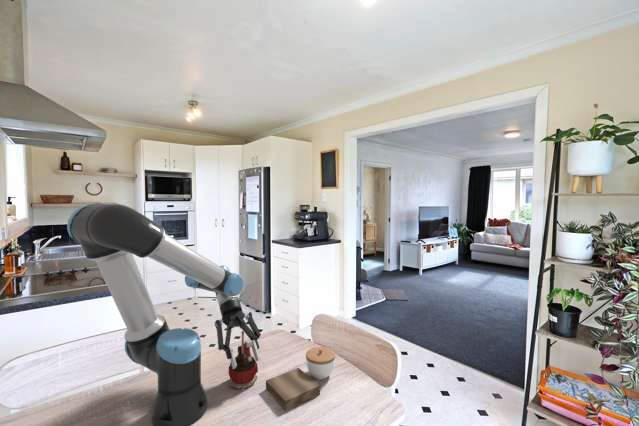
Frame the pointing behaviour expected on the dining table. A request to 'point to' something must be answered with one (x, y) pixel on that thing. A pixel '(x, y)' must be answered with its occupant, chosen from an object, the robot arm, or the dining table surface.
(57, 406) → the dining table surface
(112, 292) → the robot arm
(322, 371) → the lidded jar
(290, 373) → the plinth
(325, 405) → the dining table surface
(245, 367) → the cake
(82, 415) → the dining table surface
